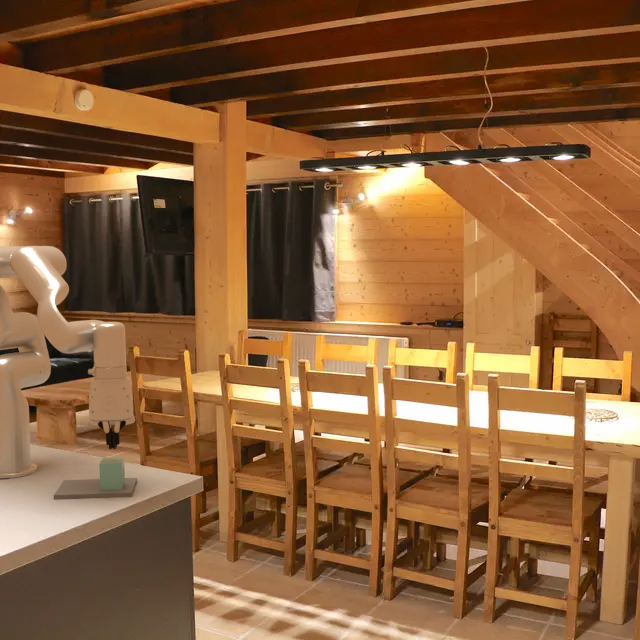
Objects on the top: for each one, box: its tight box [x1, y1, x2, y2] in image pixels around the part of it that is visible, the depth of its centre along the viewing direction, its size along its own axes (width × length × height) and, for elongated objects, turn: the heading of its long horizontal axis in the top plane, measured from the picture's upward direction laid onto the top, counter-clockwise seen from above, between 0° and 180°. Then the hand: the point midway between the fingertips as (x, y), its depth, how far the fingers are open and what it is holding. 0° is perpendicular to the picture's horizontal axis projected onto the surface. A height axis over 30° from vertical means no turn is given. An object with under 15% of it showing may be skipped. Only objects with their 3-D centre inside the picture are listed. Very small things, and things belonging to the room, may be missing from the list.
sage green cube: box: [98, 456, 126, 490], centre depth 186 cm, size 5×5×7 cm
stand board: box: [53, 477, 138, 500], centre depth 187 cm, size 18×12×1 cm, turn 97°
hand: (113, 447), depth 186 cm, fingers closed
